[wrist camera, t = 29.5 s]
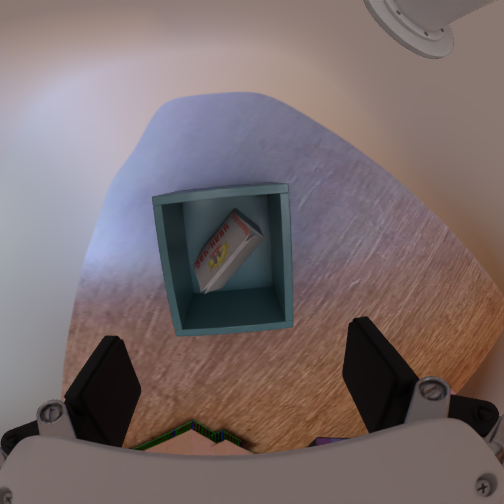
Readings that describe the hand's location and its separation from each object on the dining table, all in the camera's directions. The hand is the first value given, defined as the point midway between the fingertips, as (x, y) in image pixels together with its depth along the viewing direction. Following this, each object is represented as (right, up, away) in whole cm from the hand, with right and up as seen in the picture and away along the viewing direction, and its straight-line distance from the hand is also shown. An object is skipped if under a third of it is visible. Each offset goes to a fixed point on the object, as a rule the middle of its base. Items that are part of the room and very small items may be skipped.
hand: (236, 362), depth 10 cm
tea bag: (-2, +6, +22) cm, 23 cm away
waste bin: (-2, +6, +23) cm, 24 cm away
